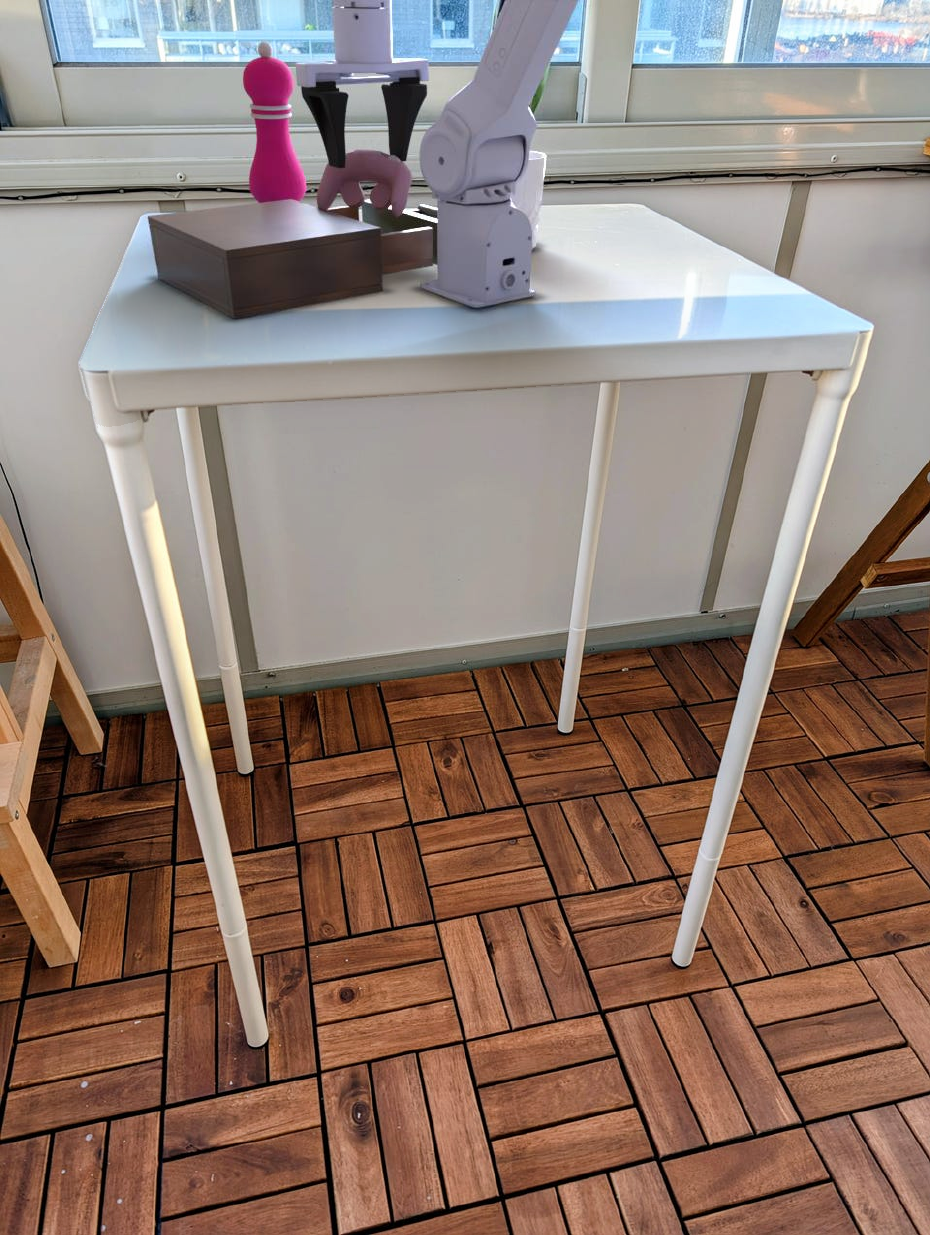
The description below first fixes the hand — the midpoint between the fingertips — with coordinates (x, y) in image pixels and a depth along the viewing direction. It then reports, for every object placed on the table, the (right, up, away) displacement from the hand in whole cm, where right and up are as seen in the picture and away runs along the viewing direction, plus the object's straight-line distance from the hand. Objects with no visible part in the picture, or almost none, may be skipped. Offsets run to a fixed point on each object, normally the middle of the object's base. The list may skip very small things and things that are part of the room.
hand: (368, 163), depth 95 cm
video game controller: (-1, -4, +3) cm, 5 cm away
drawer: (0, -8, +5) cm, 9 cm away
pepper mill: (-14, +4, +23) cm, 27 cm away
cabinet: (-10, -13, -2) cm, 17 cm away
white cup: (+15, -3, +14) cm, 21 cm away
